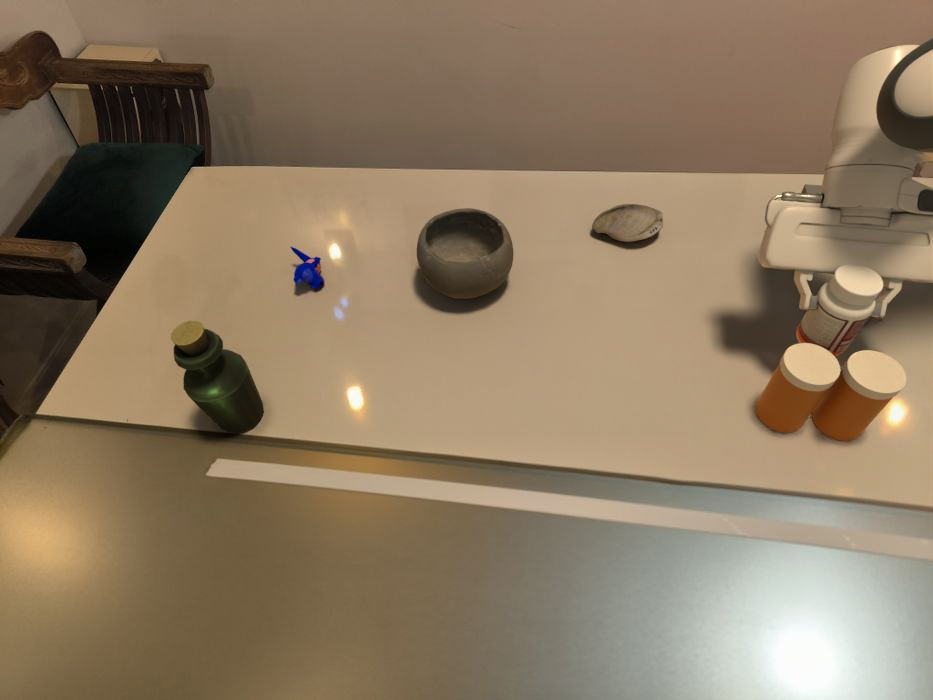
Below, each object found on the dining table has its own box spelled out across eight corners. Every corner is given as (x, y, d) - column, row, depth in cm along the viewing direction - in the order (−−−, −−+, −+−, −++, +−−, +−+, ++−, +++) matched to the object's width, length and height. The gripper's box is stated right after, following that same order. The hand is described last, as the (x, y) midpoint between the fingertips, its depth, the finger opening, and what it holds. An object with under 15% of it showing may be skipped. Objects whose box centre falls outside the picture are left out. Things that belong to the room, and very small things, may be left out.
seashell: (597, 253, 101) (600, 230, 97) (586, 221, 106) (589, 198, 102) (668, 246, 101) (674, 223, 97) (654, 214, 106) (660, 191, 102)
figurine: (299, 297, 99) (290, 276, 95) (297, 266, 103) (289, 244, 100) (328, 291, 99) (320, 270, 95) (325, 261, 104) (317, 239, 100)
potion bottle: (252, 446, 82) (197, 366, 68) (200, 432, 84) (137, 352, 70) (280, 397, 87) (235, 313, 72) (231, 385, 88) (177, 301, 74)
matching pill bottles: (752, 390, 83) (781, 339, 74) (858, 404, 80) (900, 353, 72) (756, 429, 79) (786, 380, 70) (867, 444, 77) (912, 396, 68)
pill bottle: (841, 324, 80) (882, 262, 71) (850, 361, 76) (895, 300, 67) (791, 319, 81) (826, 257, 72) (798, 356, 77) (835, 295, 68)
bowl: (494, 240, 104) (492, 192, 96) (526, 299, 95) (528, 252, 87) (411, 262, 102) (403, 215, 94) (436, 325, 93) (429, 279, 85)
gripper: (777, 186, 70) (757, 304, 72) (974, 200, 67) (948, 324, 69) (761, 193, 77) (743, 302, 78) (941, 207, 73) (918, 321, 75)
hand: (841, 313), depth 74 cm, fingers closed on pill bottle, 6 cm apart
